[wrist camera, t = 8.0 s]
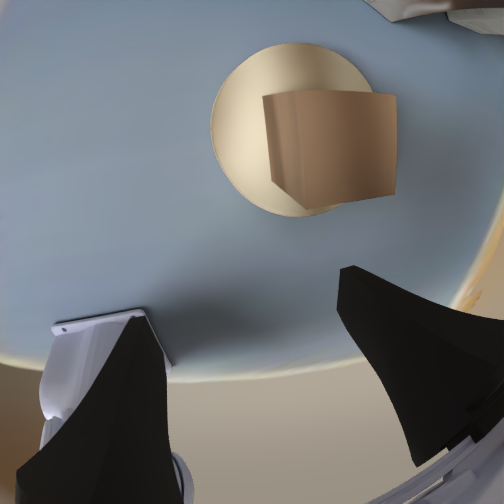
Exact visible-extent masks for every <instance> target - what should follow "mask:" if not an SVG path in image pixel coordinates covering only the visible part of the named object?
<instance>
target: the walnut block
mask: <svg viewBox="0 0 504 504" xmlns="http://www.w3.org/2000/svg"><path fill="white" fill-rule="evenodd" d="M262 99H263V108H264V116H265V125H266V134H267V143H268V152H269V162H270V172H271V181H272V182H273V183H275V184H276V185H277V186H278V187H279V188H281V189H282V190H283V191H284V192H285V193H287V194H288V195H289V196H290V197H291V198H293V199H294V200H295V201H296V202H297V203H298V204H300V205H301V206H302V207H303V208H304V209H305V210H308V209H313V208H319V207H324V206H330V205H335V204H341V203H347V202H353V201H359V200H365V199H371V198H377V197H383V196H389V195H395V185H396V166H397V108H396V95H392V94H383V93H373V92H360V91H339V90H297V91H290V92H283V93H277V94H271V95H266V96H262Z"/></svg>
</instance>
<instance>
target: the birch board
mask: <svg viewBox="0 0 504 504" xmlns="http://www.w3.org/2000/svg"><path fill="white" fill-rule="evenodd" d="M297 90H339V91H360V92H373V91H372V89H371V87H370V85H369V84H368V82H367V81H366V79H365V78H364V76H363V75H362V74H361V73H360V71H359V70H358V69H357V68H356V67H355V66H354V65H353V64H351V63H350V62H349V61H348V60H346V59H345V58H344V57H342V56H341V55H339V54H337V53H335V52H334V51H332V50H329V49H327V48H324V47H321V46H317V45H313V44H308V43H285V44H279V45H275V46H272V47H269V48H266V49H263V50H261V51H260V52H258V53H256V54H254V55H252V56H251V57H250V58H248V59H247V60H245V61H244V62H243V63H242V64H240V65H239V66H238V67H237V68H236V69H235V70H234V71H233V72H232V73H231V74H230V75H229V76H228V77H227V79H226V80H225V81H224V83H223V84H222V86H221V87H220V89H219V91H218V93H217V95H216V98H215V101H214V104H213V107H212V112H211V118H210V134H211V142H212V146H213V150H214V153H215V155H216V158H217V161H218V163H219V164H220V166H221V168H222V170H223V171H224V173H225V174H226V176H227V177H228V179H229V180H230V181H231V183H232V184H233V185H234V187H235V188H236V189H237V190H238V191H239V192H240V193H241V194H242V195H243V196H244V197H245V198H247V199H248V200H249V201H251V202H252V203H253V204H255V205H257V206H259V207H260V208H262V209H264V210H267V211H269V212H272V213H275V214H279V215H283V216H291V217H306V216H313V215H317V214H321V213H324V212H327V211H329V210H332V209H334V208H336V207H338V206H339V205H341V204H343V203H341V204H335V205H330V206H324V207H319V208H313V209H308V210H305V209H304V208H303V207H302V206H301V205H300V204H298V203H297V202H296V201H295V200H294V199H293V198H291V197H290V196H289V195H288V194H287V193H285V192H284V191H283V190H282V189H281V188H279V187H278V186H277V185H276V184H275V183H273V182H272V181H271V172H270V162H269V152H268V143H267V134H266V125H265V116H264V108H263V99H262V96H266V95H271V94H277V93H283V92H290V91H297Z"/></svg>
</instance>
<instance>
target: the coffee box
mask: <svg viewBox="0 0 504 504" xmlns="http://www.w3.org/2000/svg"><path fill="white" fill-rule="evenodd" d="M364 1H365V2H367V3H368V4H369V5H371V6H372V7H373V8H374V9H376V10H377V11H378V12H379V13H380V14H382V15H383V16H384V17H385V18H386V19H388V20H389V21H390V22H395V21H398V20H402V19H407V18H411V17H416V16H421V15H428V14H433V13H439V12H446V11H453V10H464V9H476V8H504V0H364Z"/></svg>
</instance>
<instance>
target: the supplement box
mask: <svg viewBox="0 0 504 504" xmlns="http://www.w3.org/2000/svg"><path fill="white" fill-rule="evenodd" d="M446 13H447V16H448V19H449V21H451V22H454V23H456V24H459V25H461V26H463V27H466V28H468V29H471V30H473V31H475V32H477V33H480V34H501V35H504V8H476V9H464V10H453V11H446Z"/></svg>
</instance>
